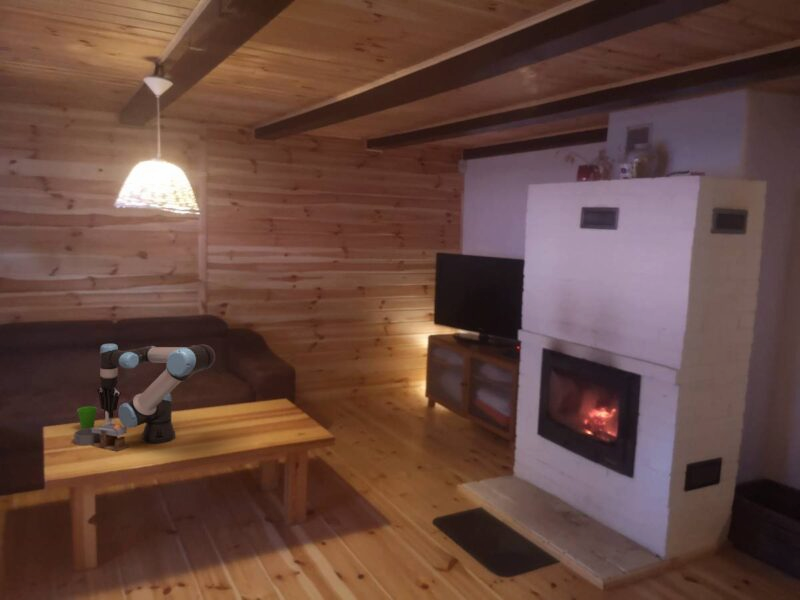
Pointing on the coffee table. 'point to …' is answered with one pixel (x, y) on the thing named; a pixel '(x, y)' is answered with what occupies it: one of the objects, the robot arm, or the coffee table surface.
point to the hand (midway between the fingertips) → (108, 423)
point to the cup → (87, 417)
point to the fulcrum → (111, 442)
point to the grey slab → (110, 430)
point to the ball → (117, 427)
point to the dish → (86, 437)
